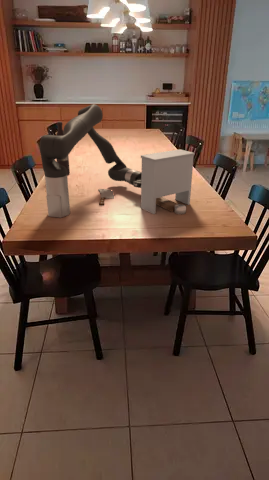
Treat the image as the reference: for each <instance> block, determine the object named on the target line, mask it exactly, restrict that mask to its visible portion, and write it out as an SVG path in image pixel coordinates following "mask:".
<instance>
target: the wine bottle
mask: <svg viewBox="0 0 269 480" xmlns="http://www.w3.org/2000/svg"><path fill="white" fill-rule="evenodd" d="M56 125H57V133H56V135H55V136H63V135H64V133H63V129H64V128H63V121H57V122H56ZM56 162H57V163H59V164H60V165H62V166H64V167H66V169H67V176H68V175H70V174H71V173H70V172H71V170H70V159H69V155H68V156H67V157H66V158H64V159H56Z"/></svg>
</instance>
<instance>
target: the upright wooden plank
mask: <svg viewBox="0 0 269 480" xmlns="http://www.w3.org/2000/svg"><path fill="white" fill-rule="evenodd" d="M177 204H178V203H177V202H174V201H172V200H169V199H167V198H165V197H164V196H163V197H159V198H156V206H158V207H161V208H162V209H163V208H164V210H166V211H167V210H168V211H170V212H172V213H173V212H174V210H175V205H177Z"/></svg>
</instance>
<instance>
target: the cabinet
mask: <svg viewBox="0 0 269 480" xmlns="http://www.w3.org/2000/svg"><path fill="white" fill-rule="evenodd" d="M195 154H196V153H195V152H194V151H188V150H184V149H175V150H174V149H173V150H168V151H159V152H154V153H153V152H152V153H148V154H141V155H140V159H141V172H142V175H141V188H140V189H141V191H140V193H141V194H140V196H141V197H140V209H142V210H144V211H147V212H149V213H150V214H152V215H154V214H156V210H157V208H156V207H157V205H156V198H159V197H163V198H164V197H167V196H170V195H171V196H172V195H174V198H175V199H174V200H176V201H178V202H180V203H183V204H184V205H186V206H189V205H191V195H192V183H193V182H192V179H193V168H194V167H193V166H194V158H195V157H194V156H195Z"/></svg>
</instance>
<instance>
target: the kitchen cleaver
mask: <svg viewBox="0 0 269 480" xmlns="http://www.w3.org/2000/svg"><path fill="white" fill-rule="evenodd" d="M111 190H112V189H109V188H98V190H97V191H98V192H99V193H100V199H99V202H98V204H99V205H98V206H100V205H103V206H105V200H110V199H111V200H114V196H115V194H114V195H113V192H114V190H113V191H111Z"/></svg>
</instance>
